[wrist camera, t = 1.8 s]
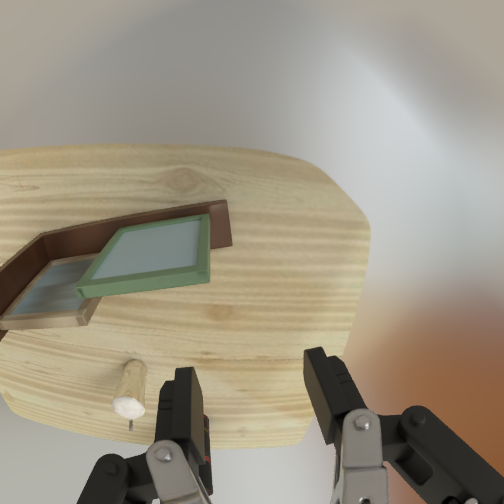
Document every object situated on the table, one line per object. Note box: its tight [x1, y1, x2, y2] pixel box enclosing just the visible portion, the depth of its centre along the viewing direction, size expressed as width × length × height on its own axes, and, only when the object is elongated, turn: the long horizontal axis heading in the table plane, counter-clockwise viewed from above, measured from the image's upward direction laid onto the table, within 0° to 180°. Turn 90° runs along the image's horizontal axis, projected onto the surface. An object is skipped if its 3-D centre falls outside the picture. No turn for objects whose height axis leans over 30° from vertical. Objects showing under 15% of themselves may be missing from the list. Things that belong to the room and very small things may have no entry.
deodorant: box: [198, 414, 213, 496], centre depth 40 cm, size 6×6×15 cm
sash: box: [74, 213, 210, 299], centre depth 25 cm, size 10×1×13 cm, turn 95°
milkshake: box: [112, 360, 147, 431], centre depth 36 cm, size 5×5×10 cm
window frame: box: [0, 200, 233, 341], centre depth 25 cm, size 24×5×17 cm, turn 95°
